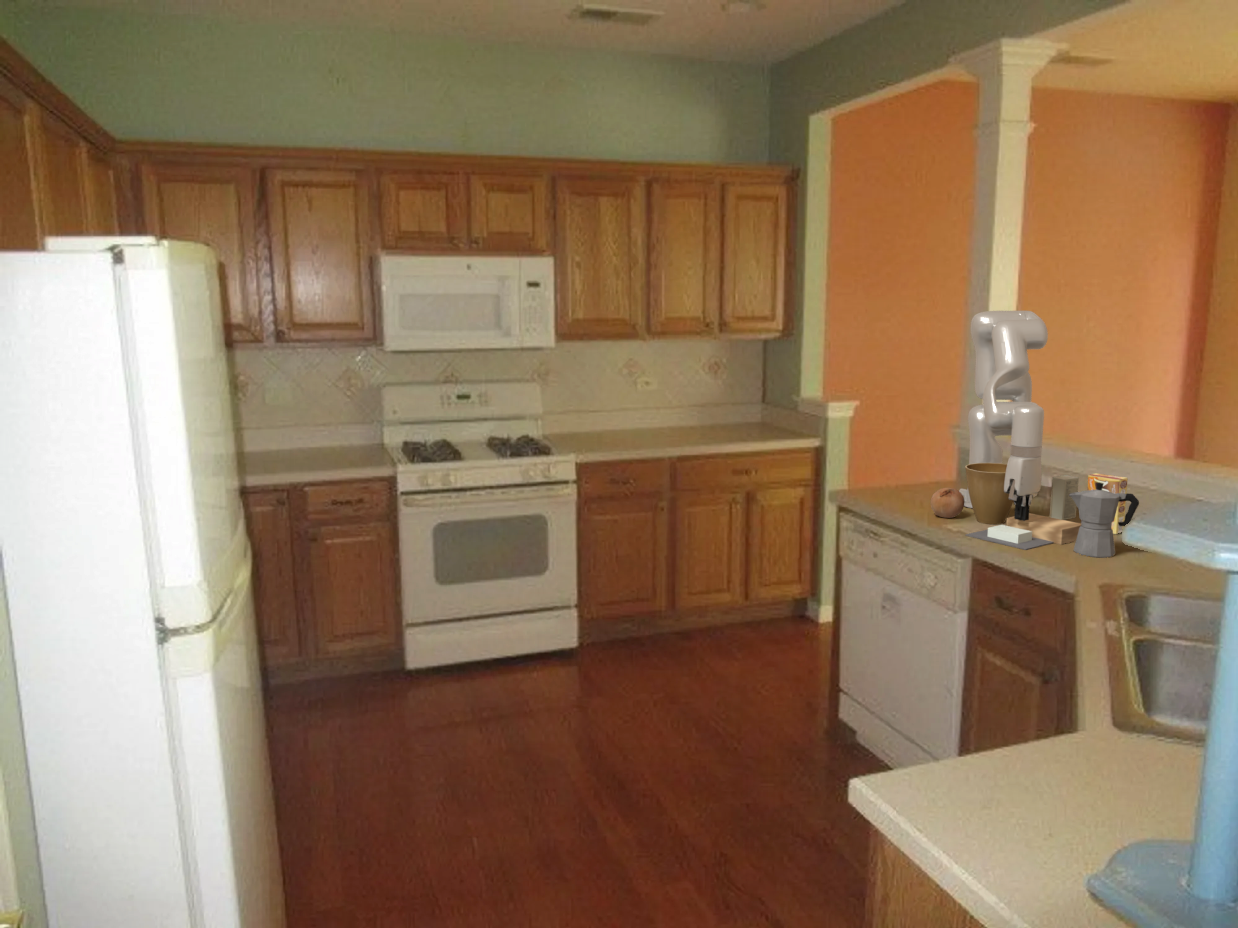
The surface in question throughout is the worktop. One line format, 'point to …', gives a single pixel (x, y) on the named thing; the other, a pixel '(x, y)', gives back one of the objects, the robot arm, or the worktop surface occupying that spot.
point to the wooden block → (1047, 528)
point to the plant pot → (988, 492)
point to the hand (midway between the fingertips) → (1021, 519)
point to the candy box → (1113, 486)
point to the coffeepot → (1099, 520)
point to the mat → (1025, 545)
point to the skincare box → (1063, 497)
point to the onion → (947, 502)
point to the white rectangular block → (1009, 534)
